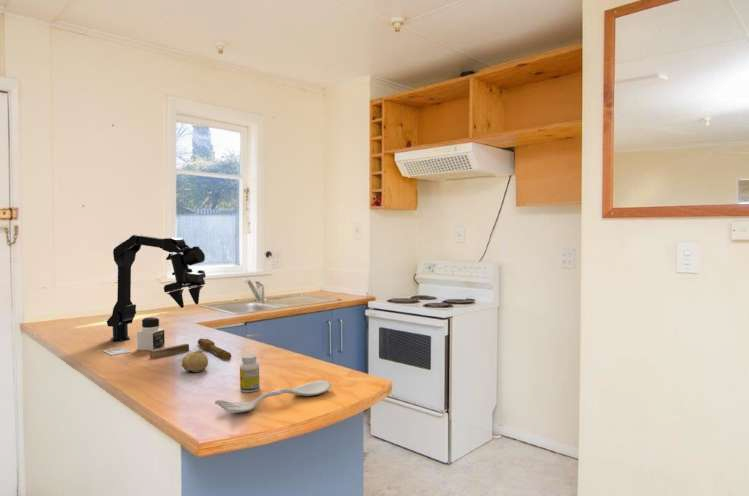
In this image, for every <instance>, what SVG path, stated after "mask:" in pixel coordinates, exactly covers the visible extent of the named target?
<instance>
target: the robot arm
mask: <svg viewBox="0 0 749 496" xmlns="http://www.w3.org/2000/svg"><path fill="white" fill-rule="evenodd" d="M142 246H147V247H152V248H159V249H161V250H162V251H165V252H168V253H169V254H168V255H167V257H165V260H166V261H171V264H172V269H173V272H172V273H171V275H172V276H174V277H175V282H172V283H168V284H165V285H164V287H163V292H164V293H166V294H167V295H169V296H170V298H172V299H173V300H174V301H175V302H176V304H177V305H178V306H179V307H180V308H181V309H183V308H184V307H185V305H184V297H183V292H184V290H185V288H188V292H189V295H190V296H191V298H192V300H193V302H194V304H195V305H199V300H200V293H201V292H200V291H201V289H202V288H204V285H206V280H205V278H206V277H207V275H206V272H205V270H204V269H199V270H197V271H195V272H193V269H192V268H189V266H194V265H197V264H200V263H203V262H204V261H205V260H206V256H205V253H204V252H203V250H202V249H201V248H200V245H195V246H192V247H190V245H188V244H187V243H186V241H185V239H184V238H182V237H169V238H164V237H163V238H162V237H155V236H149V235H143V234H133V235H131V236H130V237H129V238H128V239H126V240H124V241H122V242H121V243H119V244H118V245H117V246H115V247H114V248H113V251H112V254H113V255H112V256H113V262H115V264H116V266H117V292H116V293H117V294H116V295H117V298H116V299H117V300H116V302H115V304H114V306H113V309H112V312H111V313H112V315H111V316H110V317H109V318H108V319H107V321H106V324H107V327H112V337H111V338H110V339H111V341H112V342H117V341H118V342H120V341H127V340H131V337H130V336H129V324H133V320H134V319H135V316H136V314H137V305H136V303H135V304H134V303H133V302H132V299H131V298H132V296H131V295H132V293H131V292H132V283H131V282H132V266H133V264H134V262H135V260H136V256H137V255H136V254H137V253H138V252H139V251H140V250H141V247H142Z"/></svg>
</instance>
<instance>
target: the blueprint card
mask: <svg viewBox="0 0 749 496" xmlns="http://www.w3.org/2000/svg"><path fill="white" fill-rule="evenodd" d="M102 351H103V352H104V353H106V354H108V355H109V356H117V355H123V354H128V353H131V351H130V350H128V349H127V348H124V347H116V348H111V349H104V350H103V349H102Z"/></svg>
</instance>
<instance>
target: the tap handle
mask: <svg viewBox="0 0 749 496" xmlns="http://www.w3.org/2000/svg"><path fill="white" fill-rule="evenodd" d="M197 344H198V345H199V348H200V349H202V350H205V351H207V352H208V351H209V352H213V354H214V355H217V356H218V357H219V358H221V359H222V360H225V361H229V360H231V359H232V354H231V352H229V351H227V350H225V349H223V348H220V347H218V346H216V345H215V342H214V341H213V340H211V339H210V338H199V339H198V340H197Z"/></svg>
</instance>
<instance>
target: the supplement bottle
mask: <svg viewBox="0 0 749 496" xmlns="http://www.w3.org/2000/svg"><path fill="white" fill-rule="evenodd" d="M241 361H242V363H241V364H239V386H240V391H241V392H242V393H248V394H249V393H255V392H257V391H259V390H260V388H261V386H260V385H261V384H260V383H261V382H260V381H261V380H260V364H259V362H257V355H256V354H244V355H243V356H242V357H241Z"/></svg>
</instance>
